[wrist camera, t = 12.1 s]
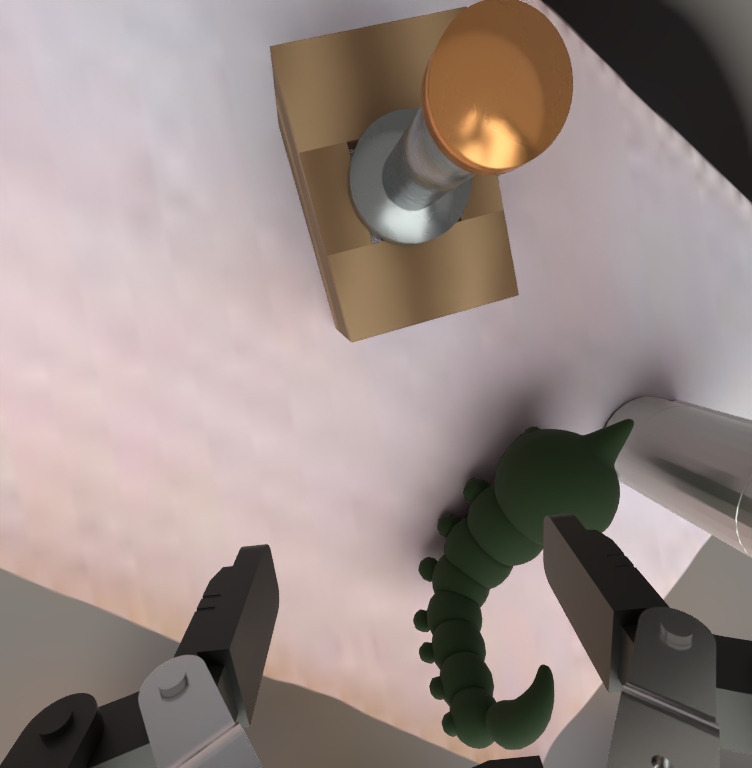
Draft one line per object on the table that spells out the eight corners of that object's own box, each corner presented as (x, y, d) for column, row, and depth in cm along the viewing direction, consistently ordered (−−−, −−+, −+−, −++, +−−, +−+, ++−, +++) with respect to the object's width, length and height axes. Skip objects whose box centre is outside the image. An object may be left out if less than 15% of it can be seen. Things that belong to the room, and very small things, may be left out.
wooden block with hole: (415, 94, 35) (467, 6, 24) (457, 294, 39) (518, 294, 28) (278, 124, 34) (269, 46, 23) (336, 328, 37) (351, 342, 27)
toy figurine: (449, 602, 47) (607, 415, 43) (530, 819, 29) (816, 529, 25) (377, 562, 44) (537, 361, 41) (416, 772, 26) (713, 443, 22)
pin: (413, 151, 33) (588, -66, 13) (433, 244, 34) (617, 177, 15) (324, 173, 32) (367, -24, 12) (349, 267, 34) (423, 227, 14)
